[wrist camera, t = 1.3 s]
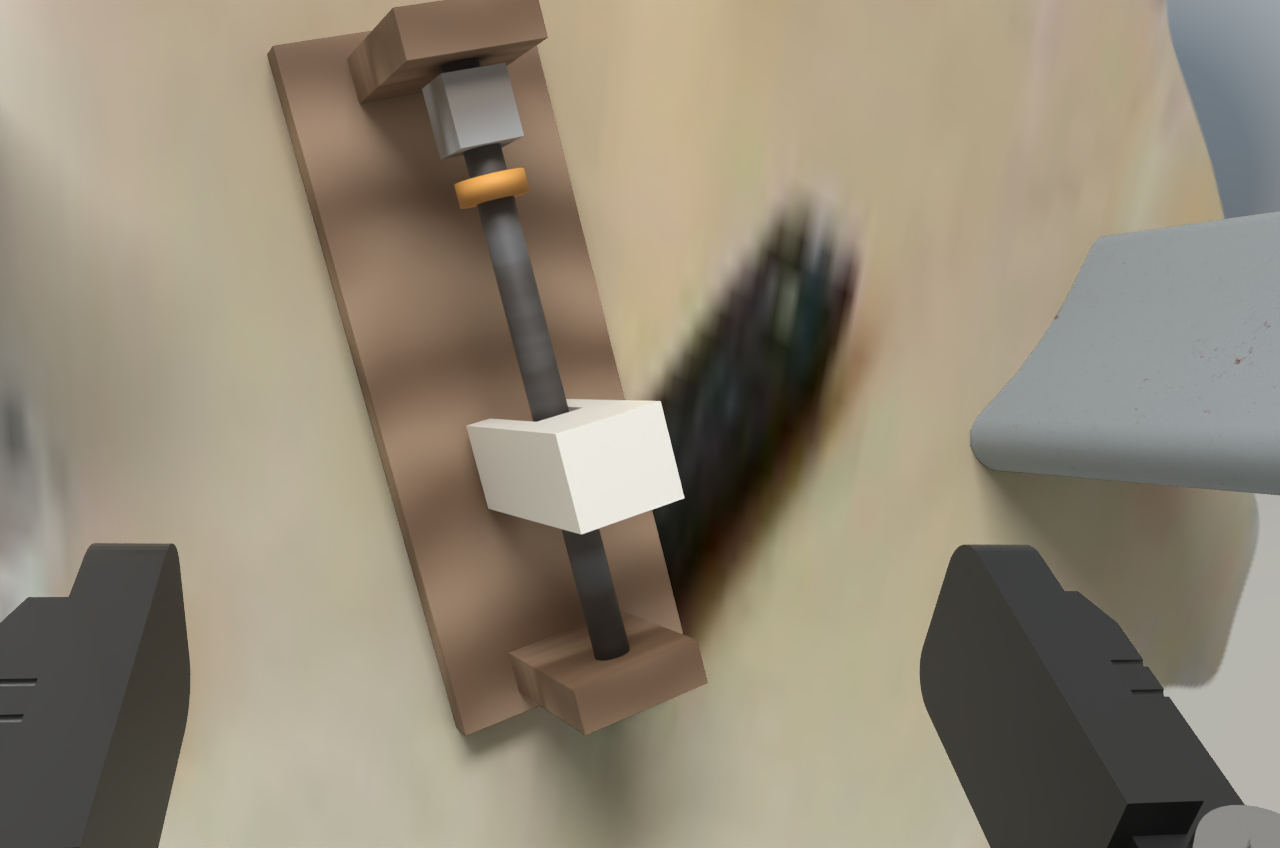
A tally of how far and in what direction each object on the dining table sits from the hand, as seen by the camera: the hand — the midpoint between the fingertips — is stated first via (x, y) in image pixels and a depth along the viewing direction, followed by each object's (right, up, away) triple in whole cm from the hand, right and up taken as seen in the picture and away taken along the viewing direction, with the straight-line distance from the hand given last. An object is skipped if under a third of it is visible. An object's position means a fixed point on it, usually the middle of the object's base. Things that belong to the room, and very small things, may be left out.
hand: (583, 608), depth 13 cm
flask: (+26, +6, +62) cm, 67 cm away
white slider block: (-5, +1, +44) cm, 45 cm away
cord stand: (-7, +4, +46) cm, 47 cm away
